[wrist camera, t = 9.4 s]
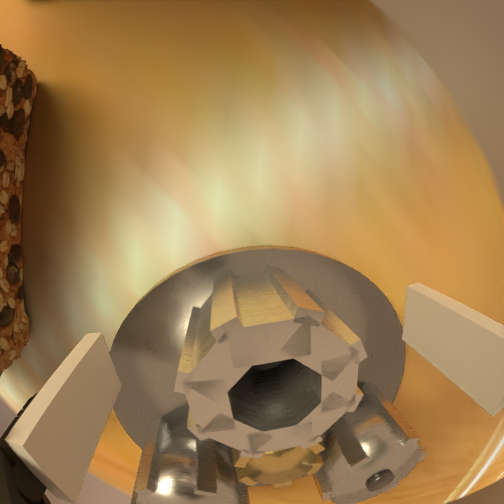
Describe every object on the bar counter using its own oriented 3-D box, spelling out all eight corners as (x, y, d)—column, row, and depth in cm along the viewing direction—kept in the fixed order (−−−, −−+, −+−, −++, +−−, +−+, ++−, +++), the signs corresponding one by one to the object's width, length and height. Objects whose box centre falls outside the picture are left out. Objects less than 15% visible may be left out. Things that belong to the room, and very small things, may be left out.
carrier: (75, 270, 14) (-8, 317, 7) (401, 226, 16) (496, 243, 8) (163, 481, 18) (156, 547, 10) (378, 444, 19) (414, 498, 12)
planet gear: (180, 276, 14) (154, 326, 8) (312, 257, 14) (370, 292, 8) (204, 386, 15) (201, 464, 9) (317, 367, 15) (357, 434, 10)
